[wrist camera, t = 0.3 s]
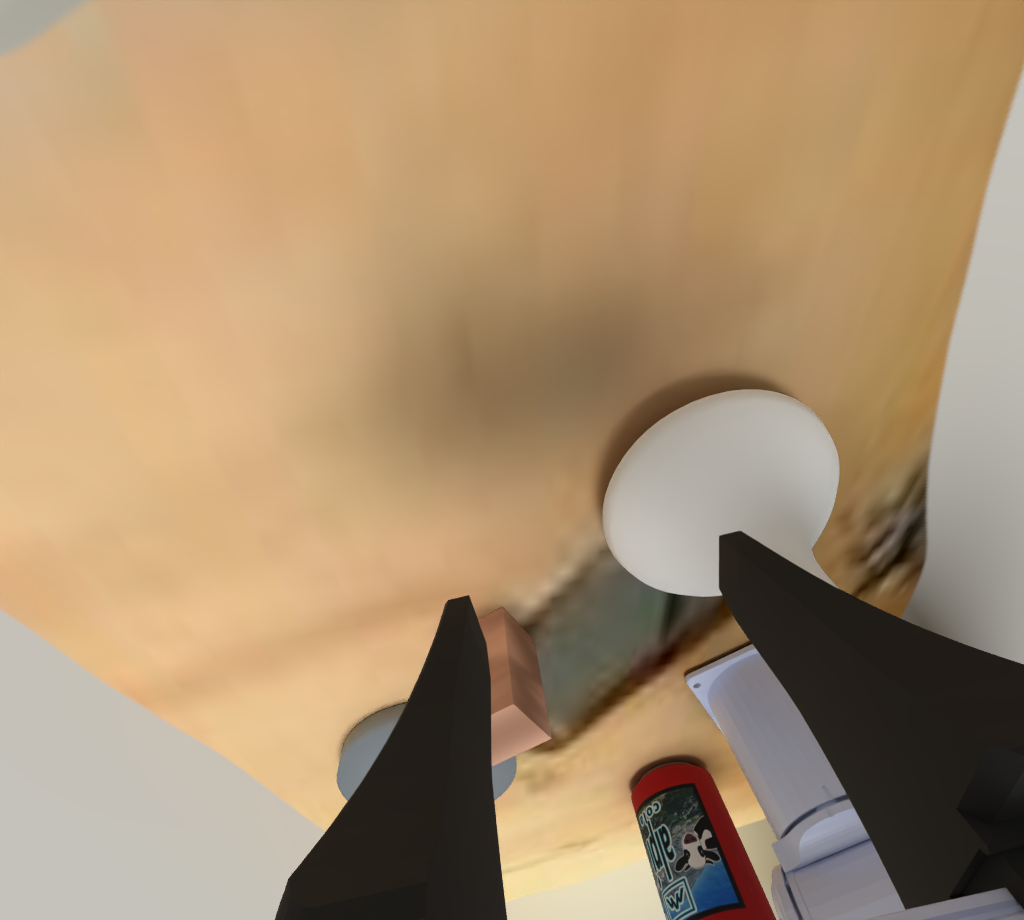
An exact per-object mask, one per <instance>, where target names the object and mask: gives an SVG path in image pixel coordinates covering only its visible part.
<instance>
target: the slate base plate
mask: <svg viewBox="0 0 1024 920" xmlns="http://www.w3.org/2000/svg"><path fill="white" fill-rule="evenodd" d="M406 704H407V703H403V704H399V705H395V706H392V707H389V708H387V709H384V710H381V711H379V712H377V713H375V714H373V715H371V716H370V717H368V718H366V719H365V720H363V721H362V722H361V723H359V724H358V725H357V726H356V727H355V728H354V729H353V730H352V731H351V732H350V734H349V735H348V736H347V738H346V740H345V742H344V744H343V748H342V753H341V758H340V762H339V767H338V772H337V784H338V787H339V790H340V791H341V793H342V795H343V796H344V797H345V798H346V800H347V801H348V800H349V799H350V797H351V796H352V795H353V793H354V792H355V790H356V789H357V787H358V786H359V785H360V783H361V782H362V780H363V779H364V777H365V775H366V774H367V772H368V771H369V769H370V768H371V766H372V764H373V763H374V761H375V759H376V758H377V756H378V754H379V753H380V751H381V749H382V748H383V746H384V744H385V743H386V741H387V739H388V738H389V736H390V734H391V732H392V730H393V729H394V727H395V725H396V723H397V721H398V719H399V717H400V715H401V714H402V712H403V710H404V708H405V706H406ZM516 766H517V764H516V755H515V756H513V757H511V758H509V759H507V760H505V761H502V762H500V763H498V764H496V765H494V766H492V782H493V793H494V800H496V799H497V798H498V797H499V796H501V795H502V794H503V793H504V792H505V791H506V790H507V789H508V787H509V786H510V785H511V783H512V781H513V779H514V777H515V774H516Z"/></svg>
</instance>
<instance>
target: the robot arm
mask: <svg viewBox="0 0 1024 920" xmlns="http://www.w3.org/2000/svg"><path fill="white" fill-rule="evenodd" d="M719 590H720V592H721V593H722V595H723V597H724V599H725V601H726V603H727V605H728V607H729V608H730V610H731V612H732V614H733V616H734V617H735V619H736V621H737V622H738V624H739V625H740V627H741V628H742V630H743V631H744V633H745V634H746V635H747V637H748V638H749V640H750V641H751V643H752V644H751V645H749V646H747V647H745V648H743V649H740V650H738V651H736V652H734V653H732V654H730V655H728V656H726V657H723V658H721V659H719V660H717V661H715V662H713V663H711V664H708V665H706V666H704V667H702V668H700V669H698V670H696V671H694V672H691V673H689V674H688V675H687V676H686V677H685V681H686V683H687V685H688V686H689V688H690V689H691V690H692V692H693V693H694V695H695V696H696V697H697V699H698V700H699V701H700V703H701V704H702V706H703V707H704V708H705V710H706V711H707V713H708V714H709V715H710V717H711V718H712V719H713V721H714V722H715V724H716V725H717V726H718V728H719V729H720V731H721V732H722V733H723V735H724V736H725V737H726V739H727V741H728V743H729V745H730V747H731V749H732V751H733V753H734V755H735V757H736V759H737V761H738V763H739V765H740V767H741V769H742V771H743V773H744V775H745V777H746V779H747V781H748V782H749V784H750V786H751V788H752V790H753V792H754V794H755V796H756V798H757V800H758V802H759V804H760V806H761V808H762V810H763V812H764V814H765V816H766V818H767V820H768V822H769V824H770V826H771V828H772V830H773V832H774V834H775V836H776V838H777V840H778V841H777V842H775V843H773V844H772V848H773V850H774V852H775V854H776V856H777V858H778V860H779V862H780V865H777V866H775V867H774V868H773V870H772V887H771V890H772V897H773V901H774V905H775V908H776V911H777V914H778V916H779V919H780V920H1024V665H1023V664H1020V663H1017V662H1014V661H1011V660H1008V659H1005V658H1002V657H999V656H996V655H993V654H990V653H987V652H984V651H982V650H979V649H976V648H973V647H970V646H967V645H965V644H962V643H959V642H957V641H954V640H952V639H949V638H947V637H944V636H941V635H938V634H936V633H933V632H931V631H928V630H926V629H923V628H921V627H919V626H916V625H914V624H911V623H909V622H907V621H905V620H902V619H900V618H898V617H896V616H894V615H891V614H889V613H887V612H885V611H882V610H880V609H878V608H876V607H874V606H872V605H870V604H868V603H866V602H863V601H861V600H859V599H857V598H856V597H854V596H852V595H850V594H848V593H846V592H844V591H842V590H840V589H838V588H836V587H834V586H833V585H831V584H829V583H827V582H825V581H823V580H822V579H820V578H818V577H816V576H815V575H813V574H811V573H809V572H808V571H806V570H804V569H802V568H801V567H799V566H797V565H796V564H794V563H792V562H791V561H789V560H787V559H786V558H784V557H782V556H781V555H779V554H778V553H776V552H774V551H773V550H771V549H769V548H768V547H766V546H765V545H763V544H761V543H760V542H758V541H757V540H755V539H753V538H752V537H750V536H749V535H747V534H745V533H744V532H742V531H736V532H732V533H728V534H724V535H720V536H719ZM275 920H507V915H506V907H505V898H504V889H503V880H502V872H501V863H500V853H499V844H498V834H497V825H496V814H495V804H494V793H493V782H492V753H491V677H490V668H489V659H488V651H487V643H486V640H485V638H484V635H483V632H482V629H481V627H480V624H479V621H478V619H477V616H476V613H475V610H474V608H473V605H472V602H471V600H470V597H469V595H468V596H464V597H460V598H456V599H451V600H448V601H447V603H446V604H445V607H444V610H443V614H442V617H441V620H440V623H439V626H438V629H437V632H436V635H435V638H434V640H433V643H432V646H431V648H430V651H429V653H428V656H427V658H426V661H425V663H424V666H423V668H422V671H421V673H420V675H419V678H418V680H417V682H416V684H415V686H414V688H413V691H412V693H411V695H410V697H409V699H408V702H407V704H406V706H405V708H404V710H403V712H402V714H401V715H400V717H399V719H398V721H397V723H396V725H395V727H394V729H393V730H392V732H391V734H390V736H389V738H388V739H387V741H386V743H385V744H384V746H383V748H382V749H381V751H380V753H379V754H378V756H377V758H376V759H375V761H374V763H373V764H372V766H371V768H370V769H369V771H368V772H367V774H366V775H365V777H364V779H363V780H362V782H361V783H360V785H359V786H358V787H357V789H356V790H355V792H354V793H353V795H352V796H351V797H350V799H349V800H348V802H347V803H346V805H345V806H344V807H343V809H342V810H341V812H340V813H339V815H338V816H337V817H336V819H335V820H334V822H333V823H332V824H331V826H330V827H329V828H328V830H327V831H326V832H325V834H324V835H323V836H322V837H321V839H320V840H319V841H318V842H317V844H316V845H315V846H314V848H313V849H312V850H311V851H310V853H309V854H308V855H307V856H306V858H305V859H304V860H303V861H302V863H301V864H300V865H299V866H298V868H297V869H296V870H295V871H294V873H293V874H292V875H291V876H290V878H289V879H288V882H287V885H286V888H285V891H284V894H283V897H282V899H281V902H280V905H279V908H278V911H277V914H276V918H275Z"/></svg>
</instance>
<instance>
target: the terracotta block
mask: <svg viewBox="0 0 1024 920" xmlns="http://www.w3.org/2000/svg"><path fill="white" fill-rule="evenodd" d="M478 621H479V624H480V627H481V629H482V632H483V635H484V638H485V640H486V643H487V651H488V659H489V668H490V677H491V753H492V766H494V765H496V764H498V763H500V762H502V761H505V760H507V759H509V758H511V757H513V756H515V755H517V754H520V753H522V752H524V751H526V750H528V749H530V748H532V747H535V746H537V745H539V744H541V743H543V742H545V741H547V740H549V739H552V738H551V732H550V727H549V721H548V715H547V710H546V704H545V698H544V693H543V687H542V681H541V676H540V670H539V664H538V659H537V653H536V647H535V642H534V639H533V638H532V637H531V636H530V635H529V634H528V633H527V632H526V631H525V630H524V629H523V628H522V627H521V626H520V625H519V623H518V622H517V621H516V620H515V619H514V618H513V617H512V616H511V615H510V614H509V613H508V612H507V611H506V610H505V609H504V608H503V607H501V608H499V609H497V610H495V611H493V612H491V613H490V614H488V615H486V616H484V617H482V618H480V619H479V620H478Z"/></svg>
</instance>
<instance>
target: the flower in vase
mask: <svg viewBox="0 0 1024 920" xmlns="http://www.w3.org/2000/svg"><path fill="white" fill-rule="evenodd" d="M838 482H839V459H838V453H837V450H836V447H835V444H834V442H833V440H832V438H831V436H830V434H829V433H828V431H827V429H826V427H825V426H824V424H823V422H822V421H821V419H820V418H819V417H818V416H817V415H816V414H815V413H814V411H813V410H811V409H810V408H809V407H807V406H806V405H805V404H803V403H802V402H800V401H798V400H796V399H794V398H792V397H790V396H787V395H784V394H781V393H778V392H774V391H767V390H761V389H743V390H734V391H726V392H722V393H718V394H714V395H710V396H707V397H704V398H702V399H699V400H696V401H693V402H691V403H689V404H687V405H685V406H683V407H681V408H679V409H677V410H675V411H673V412H672V413H670V414H669V415H667V416H665V417H664V418H662V419H661V420H659V421H658V422H657V423H655V424H654V425H653V426H652V427H650V428H649V429H648V430H647V431H646V432H645V433H644V434H643V435H642V436H641V437H640V438H639V439H638V440H636V442H635V443H634V444H633V445H632V447H631V448H630V449H629V450H628V452H627V453H626V454H625V455H624V457H623V459H622V460H621V462H620V463H619V465H618V466H617V468H616V470H615V472H614V474H613V476H612V478H611V480H610V482H609V485H608V488H607V491H606V494H605V499H604V504H603V517H602V523H603V530H604V535H605V538H606V541H607V544H608V547H609V548H610V550H611V552H612V554H613V556H614V557H615V558H616V559H617V561H618V562H619V563H620V564H621V565H622V566H623V567H624V568H625V569H626V570H627V571H628V572H630V573H631V574H632V575H634V576H635V577H636V578H637V579H639V580H641V581H642V582H644V583H645V584H647V585H649V586H651V587H653V588H655V589H658V590H661V591H664V592H668V593H674V594H679V595H689V596H702V597H707V596H720V595H722V593H721V592H720V590H719V536H720V535H724V534H728V533H732V532H736V531H742V532H744V533H745V534H747V535H749V536H750V537H752V538H753V539H755V540H757V541H758V542H760V543H761V544H763V545H765V546H766V547H768V548H769V549H771V550H773V551H774V552H776V553H778V554H779V555H781V556H782V557H784V558H786V559H787V560H789V561H791V562H792V563H794V564H796V565H797V566H799V567H801V568H802V569H804V570H806V571H808V572H809V573H811V574H813V575H815V576H816V577H818V578H820V579H822V580H823V581H825V582H827V583H829V584H831V585H833V586H834V587H836V588H838V587H837V586H836V585H835V584H834V583H833V581H832V580H831V579H830V578H829V577H828V576H827V575H826V574H825V573H824V572H823V570H822V569H821V567H820V566H819V564H818V563H817V561H816V560H815V558H814V555H813V551H812V548H813V546H814V545H815V543H816V541H817V540H818V538H819V536H820V535H821V533H822V531H823V529H824V527H825V526H826V524H827V522H828V519H829V517H830V515H831V513H832V509H833V506H834V503H835V498H836V493H837V488H838ZM838 589H839V588H838Z"/></svg>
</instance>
